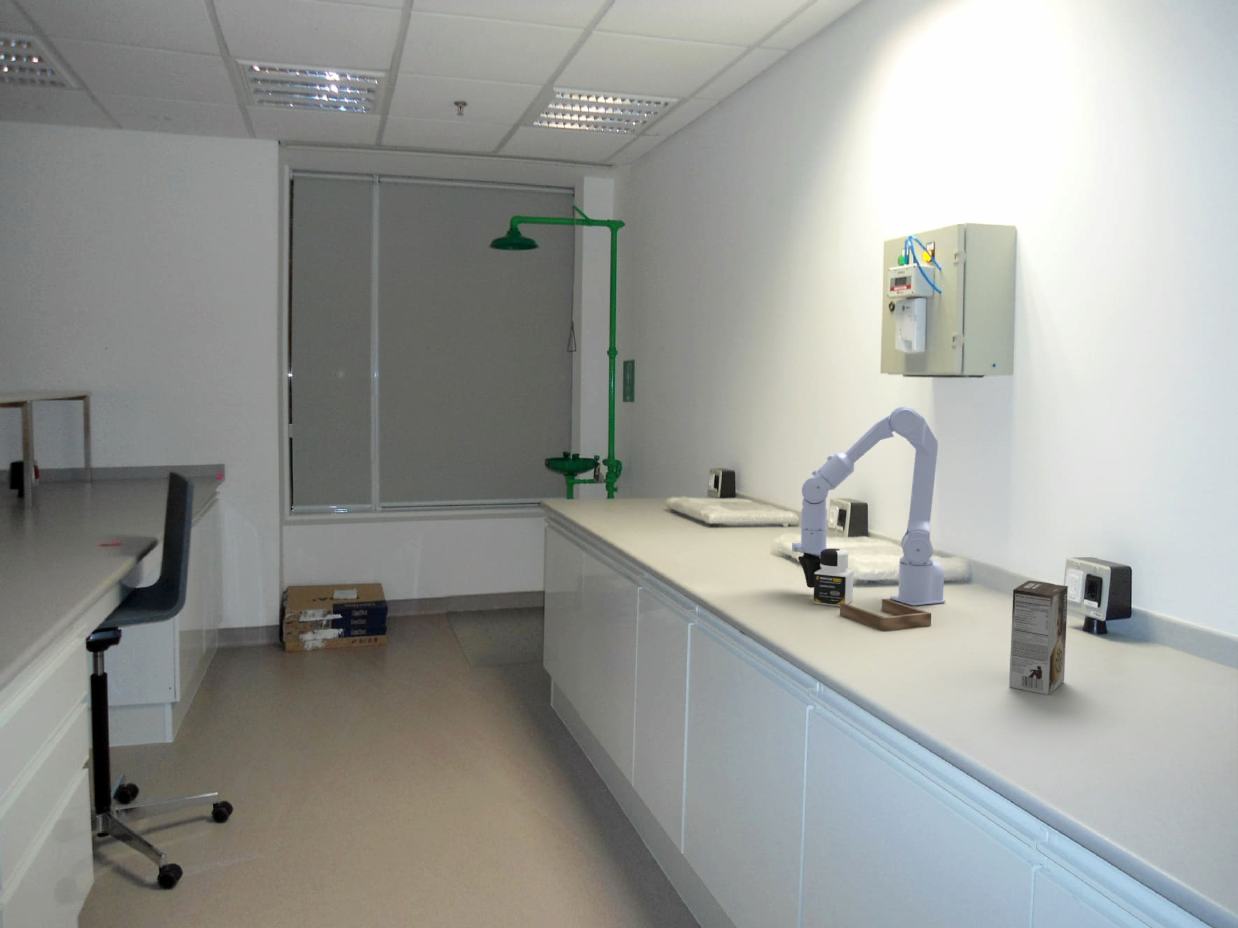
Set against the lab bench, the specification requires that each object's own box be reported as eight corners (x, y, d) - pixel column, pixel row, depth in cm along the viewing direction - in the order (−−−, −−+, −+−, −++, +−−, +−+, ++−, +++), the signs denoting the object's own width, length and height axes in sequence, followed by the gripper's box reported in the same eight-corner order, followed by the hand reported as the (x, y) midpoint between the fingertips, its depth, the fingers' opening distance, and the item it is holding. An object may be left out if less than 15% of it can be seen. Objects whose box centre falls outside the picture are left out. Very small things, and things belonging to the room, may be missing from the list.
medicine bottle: (813, 603, 207) (814, 550, 206) (821, 597, 213) (823, 545, 212) (844, 607, 204) (846, 553, 203) (852, 601, 210) (854, 548, 209)
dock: (885, 610, 201) (885, 598, 201) (930, 625, 188) (931, 613, 188) (839, 615, 196) (840, 603, 196) (883, 630, 184) (883, 618, 183)
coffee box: (1024, 674, 156) (1028, 579, 155) (1065, 681, 152) (1069, 584, 151) (1007, 687, 149) (1011, 588, 148) (1049, 695, 145) (1054, 594, 144)
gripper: (781, 525, 219) (780, 582, 221) (818, 534, 206) (816, 594, 207) (806, 524, 222) (805, 579, 223) (844, 532, 209) (842, 592, 210)
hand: (812, 586), depth 215 cm, fingers closed
